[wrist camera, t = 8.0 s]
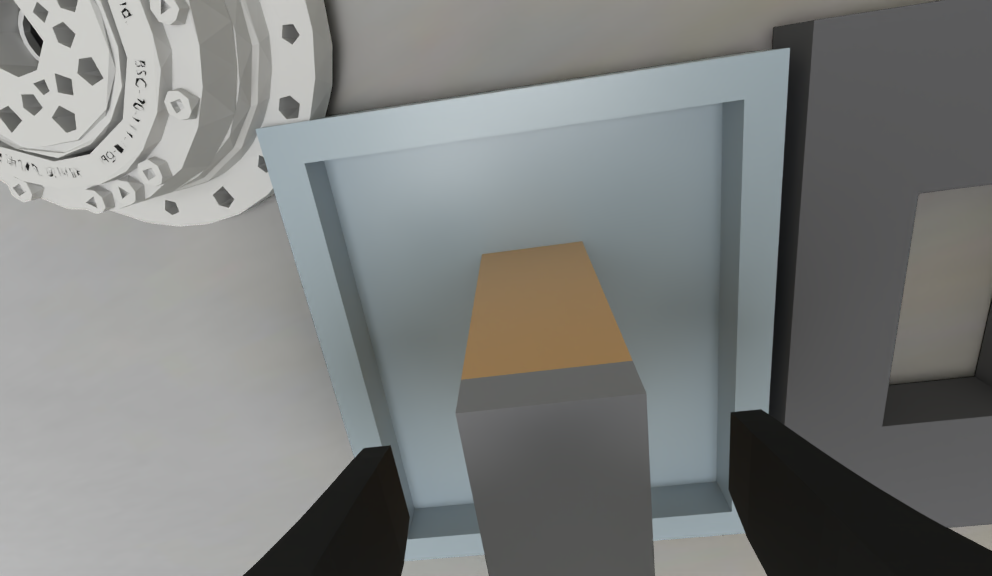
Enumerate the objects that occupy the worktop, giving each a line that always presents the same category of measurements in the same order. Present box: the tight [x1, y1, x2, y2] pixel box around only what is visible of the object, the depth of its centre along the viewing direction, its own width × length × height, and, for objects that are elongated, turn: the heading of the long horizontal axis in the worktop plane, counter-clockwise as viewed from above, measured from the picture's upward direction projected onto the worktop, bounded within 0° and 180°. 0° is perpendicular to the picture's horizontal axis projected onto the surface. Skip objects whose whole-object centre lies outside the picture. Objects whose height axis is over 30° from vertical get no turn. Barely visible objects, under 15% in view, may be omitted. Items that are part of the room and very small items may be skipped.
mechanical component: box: [0, 0, 332, 227], centre depth 12 cm, size 10×4×10 cm
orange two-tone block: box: [455, 241, 655, 576], centre depth 13 cm, size 3×6×8 cm, turn 8°
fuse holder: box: [769, 0, 992, 528], centre depth 15 cm, size 10×16×2 cm, turn 8°
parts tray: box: [255, 48, 790, 561], centre depth 16 cm, size 13×15×2 cm
